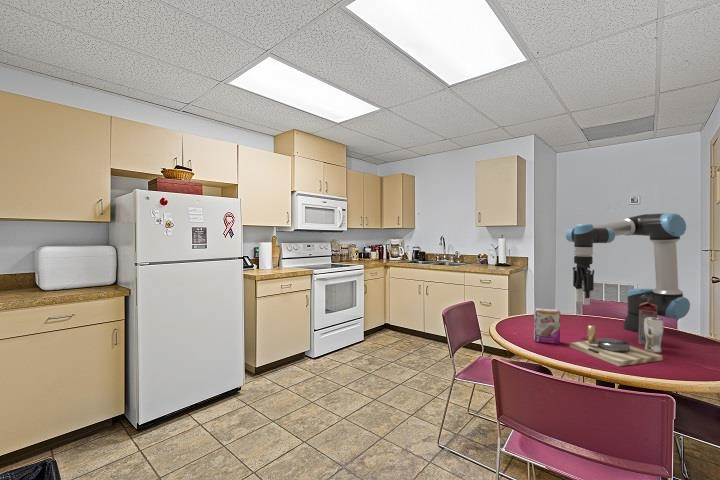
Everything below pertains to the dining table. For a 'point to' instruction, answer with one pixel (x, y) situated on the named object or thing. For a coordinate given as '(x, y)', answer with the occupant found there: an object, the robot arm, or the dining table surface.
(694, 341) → the dining table surface
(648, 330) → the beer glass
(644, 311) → the juice carton
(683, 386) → the dining table surface
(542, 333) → the candy bar box
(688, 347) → the dining table surface
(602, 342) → the grey round handled piece
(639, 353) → the stand
